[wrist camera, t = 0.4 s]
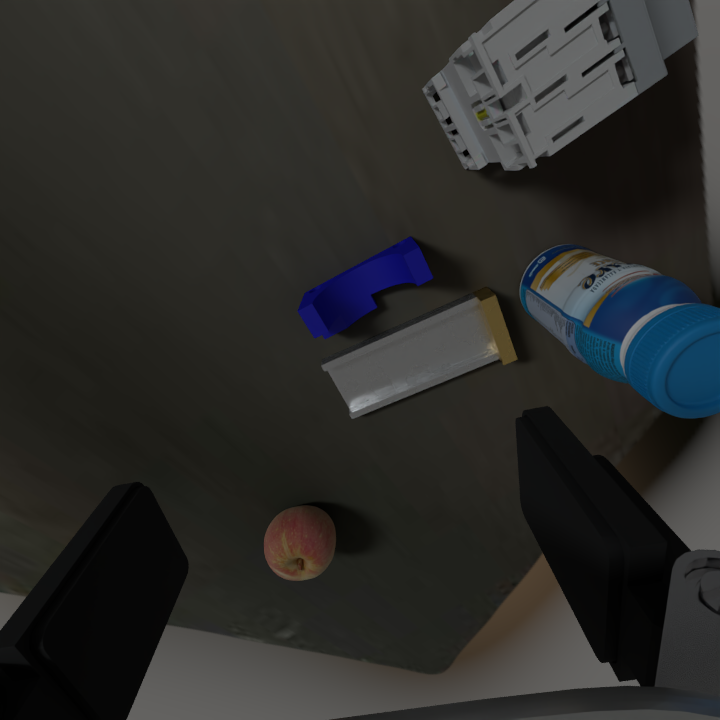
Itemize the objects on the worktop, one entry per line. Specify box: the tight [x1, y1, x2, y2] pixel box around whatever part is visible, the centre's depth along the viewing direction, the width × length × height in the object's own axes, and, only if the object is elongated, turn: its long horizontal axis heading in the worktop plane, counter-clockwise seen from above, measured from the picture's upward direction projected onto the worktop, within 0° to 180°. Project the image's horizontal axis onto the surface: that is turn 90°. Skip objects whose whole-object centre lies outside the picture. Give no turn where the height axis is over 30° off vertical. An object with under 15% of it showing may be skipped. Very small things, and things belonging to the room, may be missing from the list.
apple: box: [264, 505, 336, 581], centre depth 52 cm, size 9×9×8 cm
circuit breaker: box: [422, 0, 698, 171], centre depth 27 cm, size 8×14×15 cm, turn 125°
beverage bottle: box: [520, 244, 720, 418], centre depth 33 cm, size 8×8×20 cm
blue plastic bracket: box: [298, 236, 433, 339], centre depth 39 cm, size 12×4×6 cm, turn 118°
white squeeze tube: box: [321, 287, 518, 419], centre depth 44 cm, size 8×19×3 cm, turn 115°
